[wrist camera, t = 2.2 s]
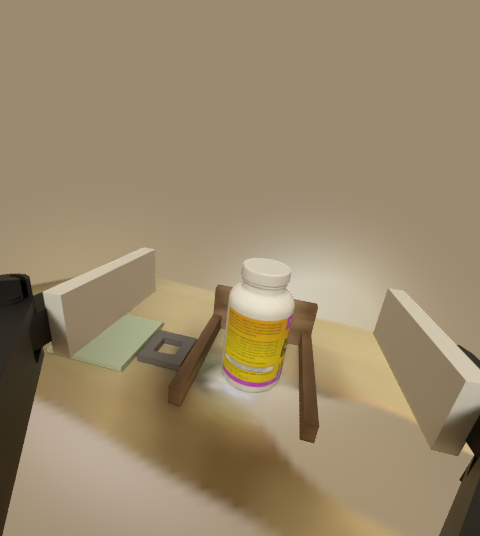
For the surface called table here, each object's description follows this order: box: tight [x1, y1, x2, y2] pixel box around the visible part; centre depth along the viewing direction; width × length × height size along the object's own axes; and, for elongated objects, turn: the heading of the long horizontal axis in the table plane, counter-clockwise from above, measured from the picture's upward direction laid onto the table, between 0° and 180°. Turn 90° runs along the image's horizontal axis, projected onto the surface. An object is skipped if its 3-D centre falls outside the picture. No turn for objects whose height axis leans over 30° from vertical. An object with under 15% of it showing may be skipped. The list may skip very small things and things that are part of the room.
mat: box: [47, 314, 163, 372], centre depth 32 cm, size 9×9×1 cm
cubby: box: [168, 285, 319, 443], centre depth 29 cm, size 13×15×6 cm
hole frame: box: [137, 330, 197, 371], centre depth 30 cm, size 5×5×1 cm
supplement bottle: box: [221, 258, 295, 393], centre depth 27 cm, size 7×7×13 cm
